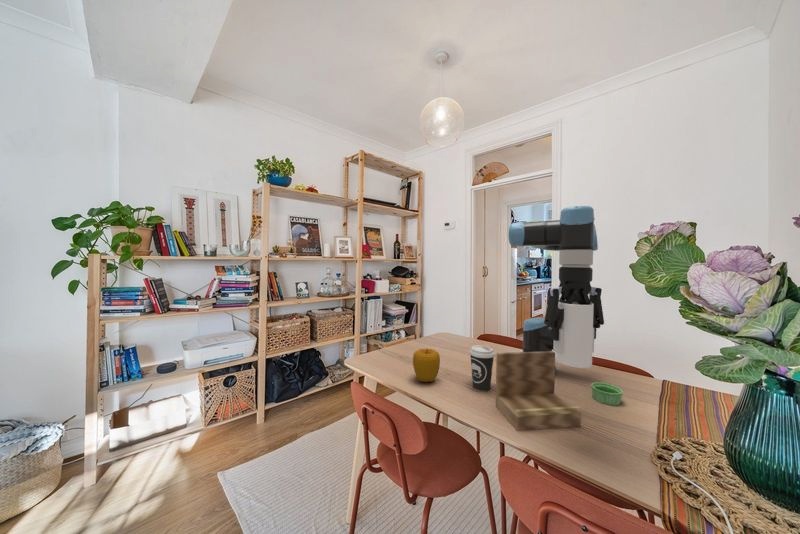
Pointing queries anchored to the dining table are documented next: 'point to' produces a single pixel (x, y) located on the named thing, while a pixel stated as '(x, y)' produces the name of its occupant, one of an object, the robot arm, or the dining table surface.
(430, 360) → the apple
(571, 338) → the cup
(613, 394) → the ramekin
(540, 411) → the shelf
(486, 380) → the coffee cup
